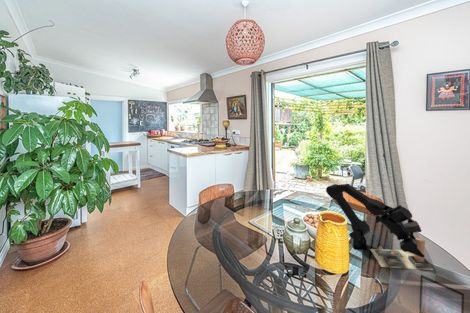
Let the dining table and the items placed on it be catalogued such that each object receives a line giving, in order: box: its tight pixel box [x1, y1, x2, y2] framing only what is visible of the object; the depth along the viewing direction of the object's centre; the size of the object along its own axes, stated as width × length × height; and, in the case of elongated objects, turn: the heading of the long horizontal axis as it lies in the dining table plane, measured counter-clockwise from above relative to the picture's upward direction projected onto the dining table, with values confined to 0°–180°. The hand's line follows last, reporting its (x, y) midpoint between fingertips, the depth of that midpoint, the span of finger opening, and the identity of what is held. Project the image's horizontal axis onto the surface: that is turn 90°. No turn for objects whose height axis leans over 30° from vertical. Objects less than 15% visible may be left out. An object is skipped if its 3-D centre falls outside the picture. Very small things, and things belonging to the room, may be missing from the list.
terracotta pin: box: [415, 237, 426, 264], centre depth 98 cm, size 4×4×12 cm
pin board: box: [369, 248, 434, 271], centre depth 104 cm, size 21×14×3 cm
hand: (421, 251), depth 98 cm, fingers open, 9 cm apart
